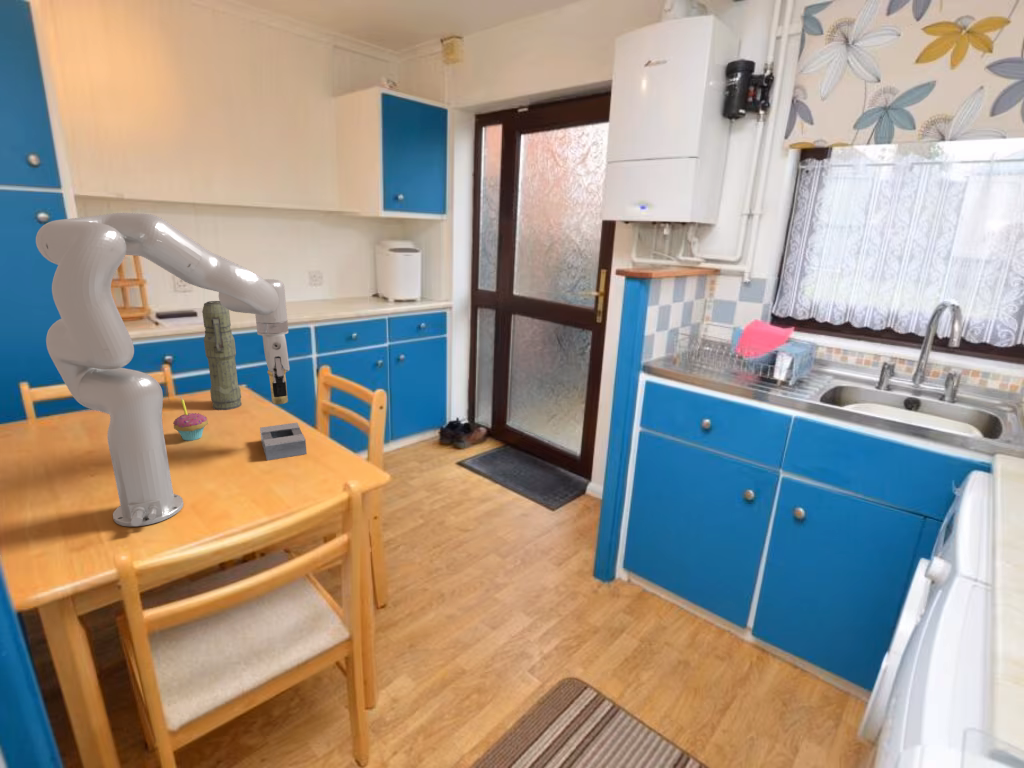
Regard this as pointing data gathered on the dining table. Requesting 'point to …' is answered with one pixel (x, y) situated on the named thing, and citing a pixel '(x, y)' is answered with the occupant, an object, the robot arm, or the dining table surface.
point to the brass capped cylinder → (274, 399)
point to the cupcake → (190, 424)
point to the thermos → (221, 356)
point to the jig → (283, 441)
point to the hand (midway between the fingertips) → (279, 393)
